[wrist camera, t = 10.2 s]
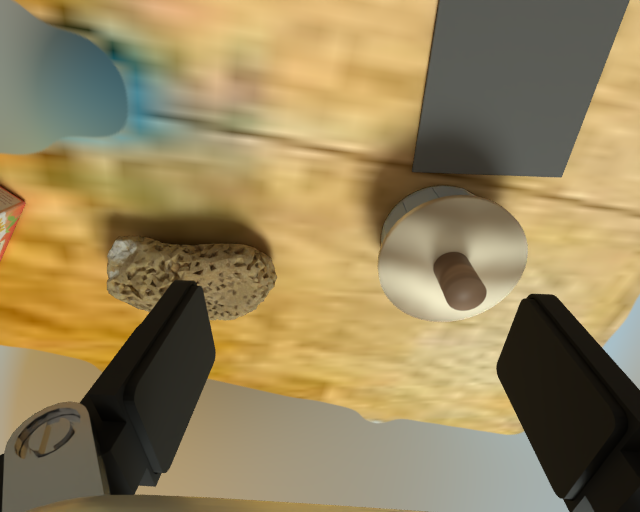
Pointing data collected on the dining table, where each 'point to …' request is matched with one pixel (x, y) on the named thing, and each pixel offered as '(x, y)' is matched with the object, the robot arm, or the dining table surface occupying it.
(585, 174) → the dining table surface
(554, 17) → the mat
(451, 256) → the lid
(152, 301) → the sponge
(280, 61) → the dining table surface
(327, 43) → the dining table surface
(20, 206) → the cracker box
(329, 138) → the dining table surface
